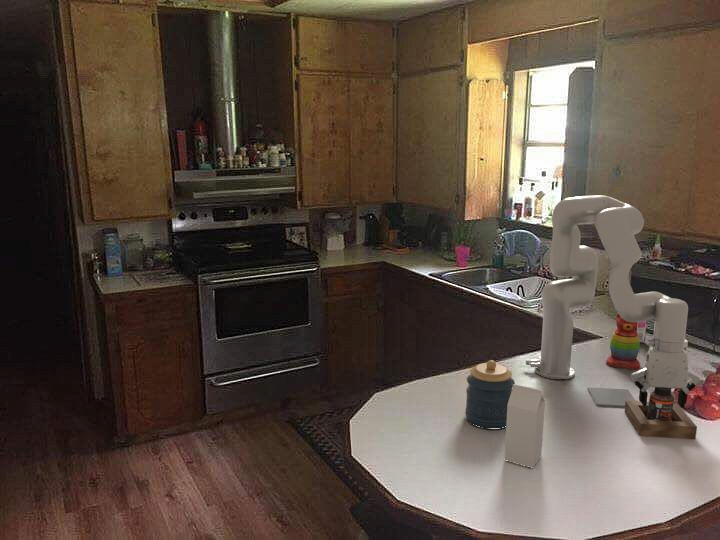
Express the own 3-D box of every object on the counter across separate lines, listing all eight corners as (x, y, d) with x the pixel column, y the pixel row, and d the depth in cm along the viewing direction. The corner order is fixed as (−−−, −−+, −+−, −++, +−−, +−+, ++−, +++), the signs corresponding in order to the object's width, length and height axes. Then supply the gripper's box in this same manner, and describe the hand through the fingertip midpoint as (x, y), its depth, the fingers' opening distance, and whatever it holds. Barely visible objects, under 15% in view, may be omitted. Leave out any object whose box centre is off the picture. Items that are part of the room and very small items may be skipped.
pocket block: (639, 435, 162) (640, 423, 161) (624, 411, 175) (625, 400, 175) (695, 439, 160) (697, 426, 159) (676, 414, 174) (677, 403, 173)
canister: (469, 406, 179) (471, 349, 175) (514, 413, 175) (518, 355, 171) (461, 426, 167) (463, 366, 163) (509, 434, 163) (513, 372, 159)
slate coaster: (596, 405, 179) (596, 404, 179) (587, 389, 191) (587, 387, 191) (639, 408, 178) (639, 406, 177) (627, 391, 189) (627, 389, 189)
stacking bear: (605, 366, 209) (610, 316, 205) (606, 356, 218) (611, 308, 214) (640, 370, 205) (645, 320, 201) (639, 360, 214) (644, 311, 210)
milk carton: (532, 469, 146) (538, 396, 142) (504, 461, 150) (508, 389, 145) (541, 456, 152) (546, 385, 148) (513, 448, 155) (517, 379, 151)
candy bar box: (645, 342, 232) (650, 301, 228) (634, 344, 231) (638, 302, 227) (626, 333, 242) (630, 293, 239) (615, 334, 241) (619, 294, 237)
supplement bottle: (660, 432, 164) (665, 392, 161) (641, 422, 169) (645, 384, 166) (675, 427, 166) (680, 388, 164) (656, 418, 172) (660, 380, 169)
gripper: (638, 348, 160) (632, 409, 164) (708, 351, 158) (701, 412, 161) (629, 339, 167) (624, 397, 171) (697, 341, 165) (690, 400, 168)
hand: (661, 404), depth 166 cm, fingers open, 9 cm apart
